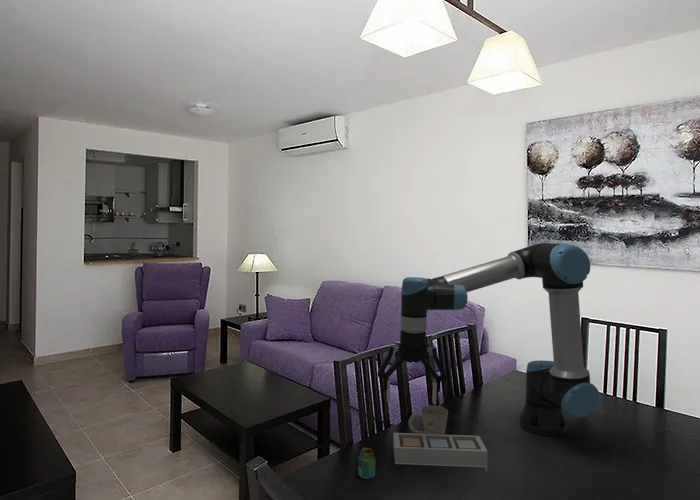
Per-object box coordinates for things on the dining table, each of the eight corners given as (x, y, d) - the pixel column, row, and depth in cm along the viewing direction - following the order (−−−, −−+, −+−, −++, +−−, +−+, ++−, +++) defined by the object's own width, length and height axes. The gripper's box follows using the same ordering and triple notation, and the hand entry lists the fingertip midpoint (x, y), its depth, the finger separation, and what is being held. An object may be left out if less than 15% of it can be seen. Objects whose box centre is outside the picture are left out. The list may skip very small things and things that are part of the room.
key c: (418, 446, 140) (419, 438, 140) (420, 454, 135) (420, 446, 135) (402, 445, 141) (402, 437, 140) (403, 453, 136) (403, 445, 135)
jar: (357, 475, 129) (357, 446, 129) (373, 474, 129) (374, 446, 129) (358, 484, 124) (359, 454, 124) (376, 483, 125) (376, 454, 124)
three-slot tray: (478, 453, 143) (479, 435, 142) (487, 472, 132) (488, 452, 131) (393, 450, 144) (393, 432, 144) (394, 468, 133) (395, 448, 133)
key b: (445, 447, 140) (445, 439, 140) (448, 455, 135) (448, 447, 135) (428, 446, 140) (429, 438, 140) (431, 454, 135) (431, 446, 135)
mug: (447, 448, 146) (448, 416, 146) (406, 443, 149) (407, 412, 148) (447, 436, 154) (448, 406, 154) (409, 432, 157) (409, 403, 156)
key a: (472, 448, 140) (472, 440, 140) (476, 456, 135) (476, 448, 135) (455, 447, 140) (455, 439, 140) (458, 455, 135) (459, 447, 135)
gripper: (453, 329, 140) (451, 398, 141) (370, 326, 141) (368, 395, 142) (458, 334, 133) (455, 408, 134) (370, 331, 134) (368, 404, 135)
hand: (411, 401), depth 138 cm, fingers open, 13 cm apart
